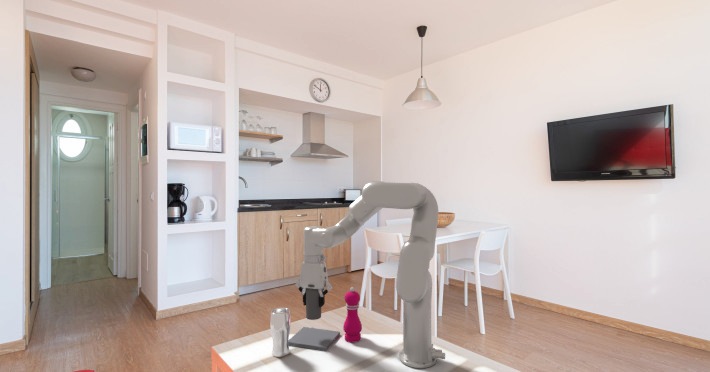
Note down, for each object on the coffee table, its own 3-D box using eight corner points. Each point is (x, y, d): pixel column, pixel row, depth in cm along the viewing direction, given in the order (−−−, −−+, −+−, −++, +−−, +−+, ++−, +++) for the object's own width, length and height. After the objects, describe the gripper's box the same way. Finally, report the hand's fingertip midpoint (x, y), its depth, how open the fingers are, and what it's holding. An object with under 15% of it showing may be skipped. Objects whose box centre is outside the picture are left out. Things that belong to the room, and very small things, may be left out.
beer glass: (294, 351, 122) (294, 309, 122) (280, 359, 116) (280, 316, 116) (280, 346, 126) (280, 306, 126) (266, 354, 120) (266, 312, 120)
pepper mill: (360, 343, 127) (359, 290, 127) (341, 342, 129) (340, 289, 129) (363, 335, 134) (363, 285, 134) (345, 334, 136) (345, 284, 136)
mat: (340, 334, 135) (340, 331, 135) (326, 351, 122) (326, 347, 122) (303, 329, 140) (303, 326, 140) (286, 344, 127) (286, 341, 127)
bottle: (324, 316, 131) (324, 278, 131) (312, 321, 127) (312, 281, 127) (314, 313, 135) (314, 275, 135) (302, 317, 131) (302, 278, 131)
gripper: (337, 258, 132) (338, 304, 132) (298, 255, 137) (298, 299, 137) (330, 262, 125) (330, 311, 125) (288, 259, 130) (289, 306, 130)
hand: (313, 304), depth 131 cm, fingers closed on bottle, 5 cm apart
